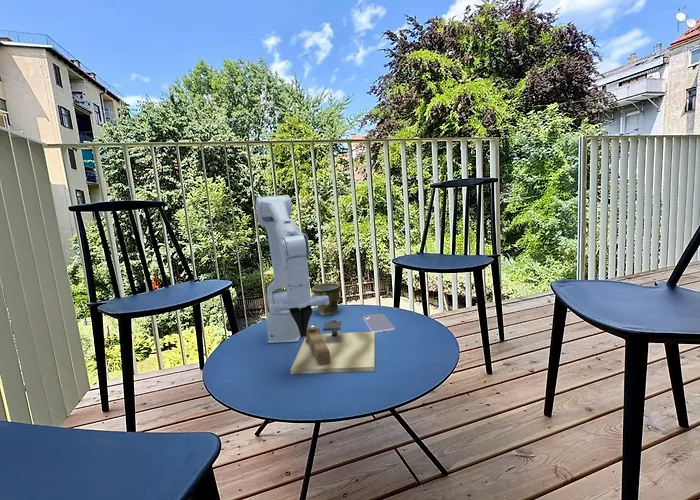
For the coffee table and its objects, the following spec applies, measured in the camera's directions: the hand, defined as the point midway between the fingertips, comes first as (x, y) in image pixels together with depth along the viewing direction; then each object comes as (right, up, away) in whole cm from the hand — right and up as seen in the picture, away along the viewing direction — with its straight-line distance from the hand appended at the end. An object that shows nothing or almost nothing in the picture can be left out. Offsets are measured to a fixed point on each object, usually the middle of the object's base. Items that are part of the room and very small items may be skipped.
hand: (303, 335), depth 94 cm
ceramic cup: (+4, -2, +41) cm, 41 cm away
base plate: (+8, -7, +9) cm, 14 cm away
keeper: (+5, -5, +16) cm, 17 cm away
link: (+3, -6, +9) cm, 11 cm away
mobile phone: (+21, -3, +29) cm, 36 cm away
